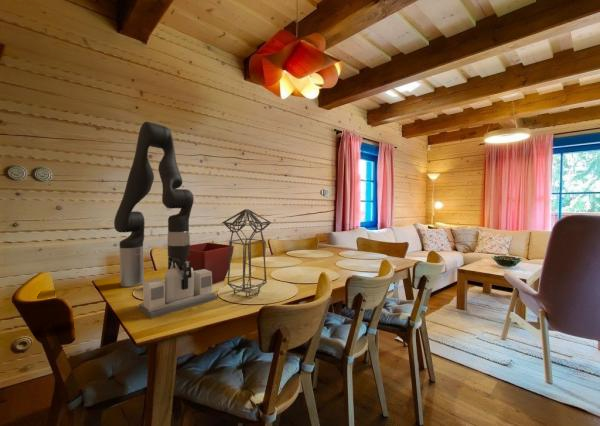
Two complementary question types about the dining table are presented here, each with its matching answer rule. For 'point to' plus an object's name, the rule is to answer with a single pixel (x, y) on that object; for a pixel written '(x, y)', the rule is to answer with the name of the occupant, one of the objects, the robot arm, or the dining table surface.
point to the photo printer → (177, 286)
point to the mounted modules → (156, 288)
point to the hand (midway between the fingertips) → (179, 286)
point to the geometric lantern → (241, 215)
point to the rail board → (178, 305)
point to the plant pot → (210, 259)
